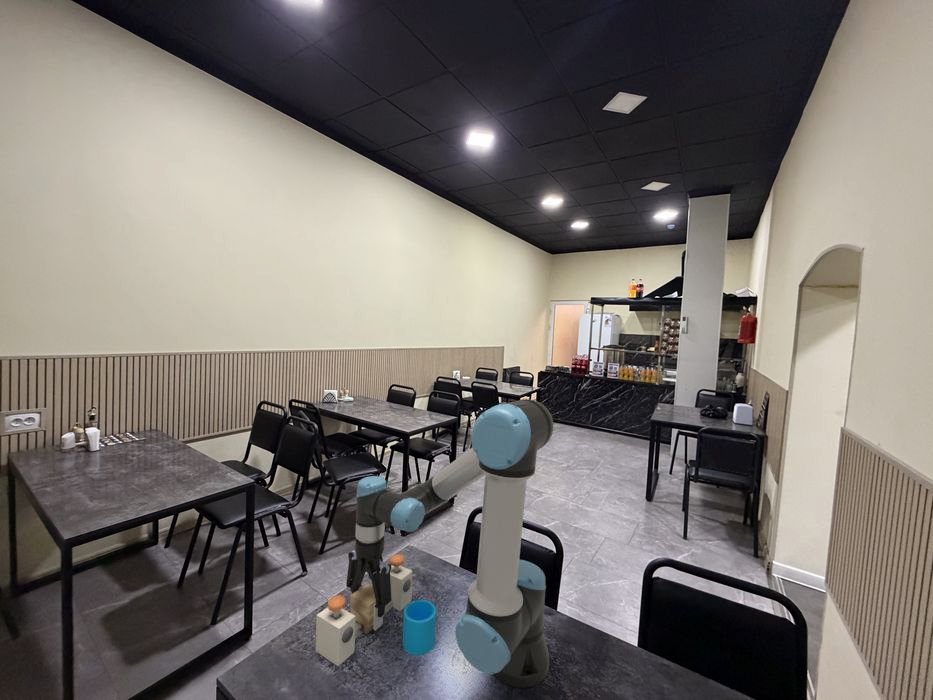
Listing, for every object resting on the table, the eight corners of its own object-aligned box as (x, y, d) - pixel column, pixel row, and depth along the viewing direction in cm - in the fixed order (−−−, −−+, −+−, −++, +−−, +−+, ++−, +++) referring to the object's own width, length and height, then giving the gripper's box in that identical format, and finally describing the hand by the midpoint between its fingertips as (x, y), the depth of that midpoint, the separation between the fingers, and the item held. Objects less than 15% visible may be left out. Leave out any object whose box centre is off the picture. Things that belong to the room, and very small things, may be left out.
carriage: (384, 621, 104) (385, 592, 104) (368, 635, 99) (369, 605, 99) (366, 611, 107) (367, 583, 107) (349, 624, 102) (350, 595, 102)
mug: (429, 658, 93) (430, 625, 93) (397, 651, 95) (398, 619, 94) (442, 622, 105) (443, 593, 105) (413, 617, 106) (414, 588, 106)
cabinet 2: (412, 601, 113) (413, 571, 112) (400, 611, 108) (402, 580, 108) (390, 591, 117) (391, 562, 117) (379, 600, 113) (380, 570, 112)
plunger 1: (348, 619, 94) (348, 599, 94) (334, 630, 91) (335, 608, 91) (336, 613, 96) (337, 593, 96) (323, 623, 93) (324, 602, 93)
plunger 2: (405, 574, 113) (406, 557, 113) (396, 581, 110) (397, 563, 110) (395, 569, 115) (396, 552, 115) (386, 576, 112) (387, 559, 112)
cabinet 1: (355, 652, 94) (356, 616, 94) (338, 667, 90) (340, 629, 89) (332, 637, 98) (333, 603, 98) (315, 651, 94) (316, 615, 93)
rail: (392, 607, 110) (392, 600, 110) (346, 646, 95) (346, 639, 95) (386, 603, 111) (386, 597, 111) (339, 642, 97) (339, 634, 97)
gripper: (408, 542, 100) (405, 627, 101) (354, 520, 111) (352, 598, 111) (388, 555, 94) (385, 646, 95) (333, 531, 104) (331, 613, 105)
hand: (367, 620), depth 103 cm, fingers closed on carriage, 7 cm apart
